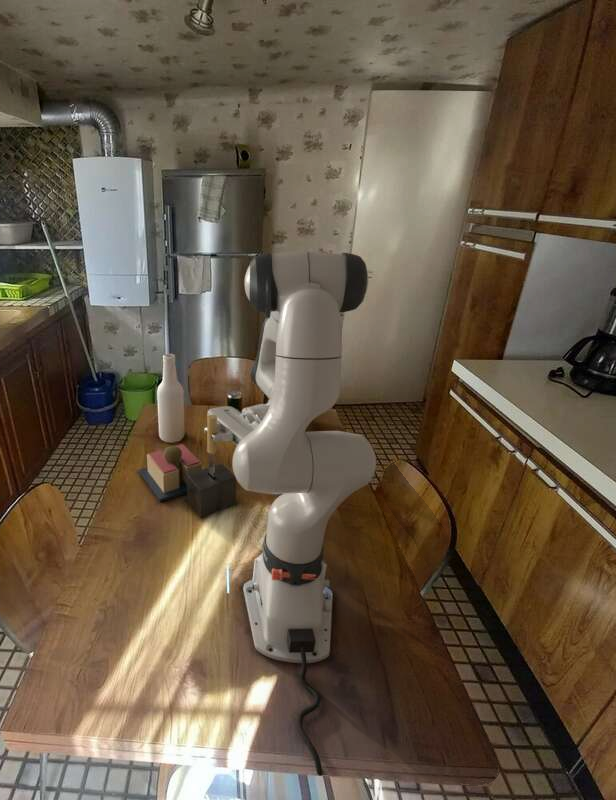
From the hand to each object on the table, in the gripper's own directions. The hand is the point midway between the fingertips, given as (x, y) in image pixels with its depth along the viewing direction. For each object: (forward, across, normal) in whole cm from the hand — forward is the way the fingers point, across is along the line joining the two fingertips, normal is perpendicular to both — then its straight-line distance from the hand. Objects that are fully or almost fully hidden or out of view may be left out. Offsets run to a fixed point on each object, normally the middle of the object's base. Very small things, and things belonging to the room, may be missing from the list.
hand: (209, 435), depth 110 cm
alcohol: (-6, -38, +22) cm, 44 cm away
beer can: (-31, -36, +22) cm, 53 cm away
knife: (-1, 0, +16) cm, 16 cm away
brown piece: (+4, -14, +22) cm, 26 cm away
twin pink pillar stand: (+3, -15, +22) cm, 27 cm away
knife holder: (-1, 0, +22) cm, 22 cm away
